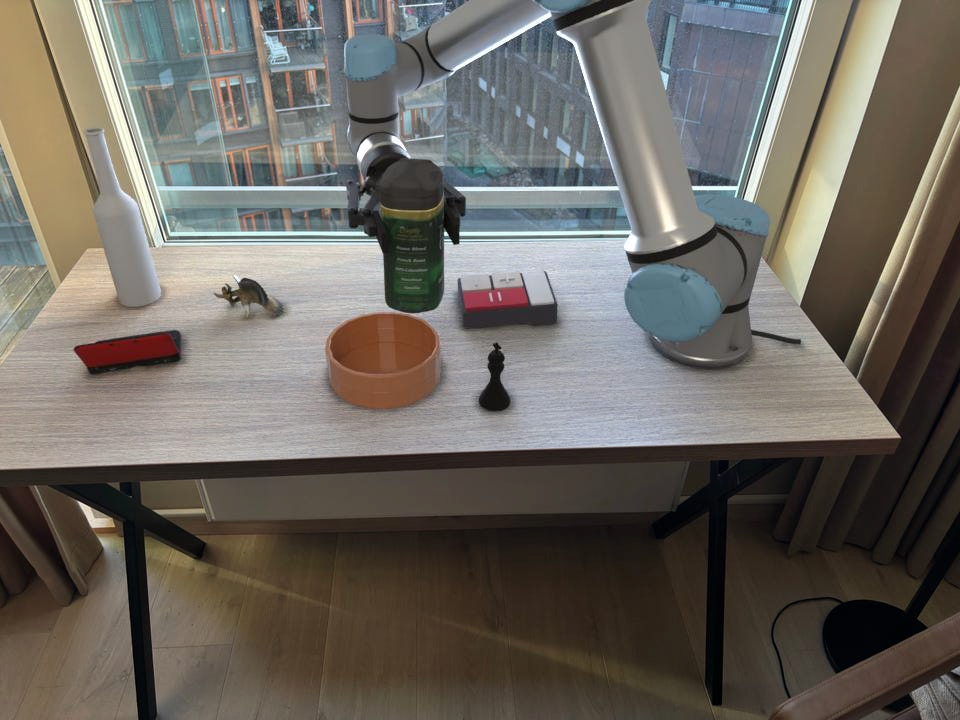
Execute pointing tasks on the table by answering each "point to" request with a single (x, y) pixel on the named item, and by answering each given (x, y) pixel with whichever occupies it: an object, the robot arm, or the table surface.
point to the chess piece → (495, 383)
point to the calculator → (507, 299)
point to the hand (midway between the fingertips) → (421, 238)
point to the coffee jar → (413, 234)
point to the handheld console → (130, 351)
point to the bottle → (121, 231)
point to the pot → (383, 359)
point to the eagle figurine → (251, 296)
